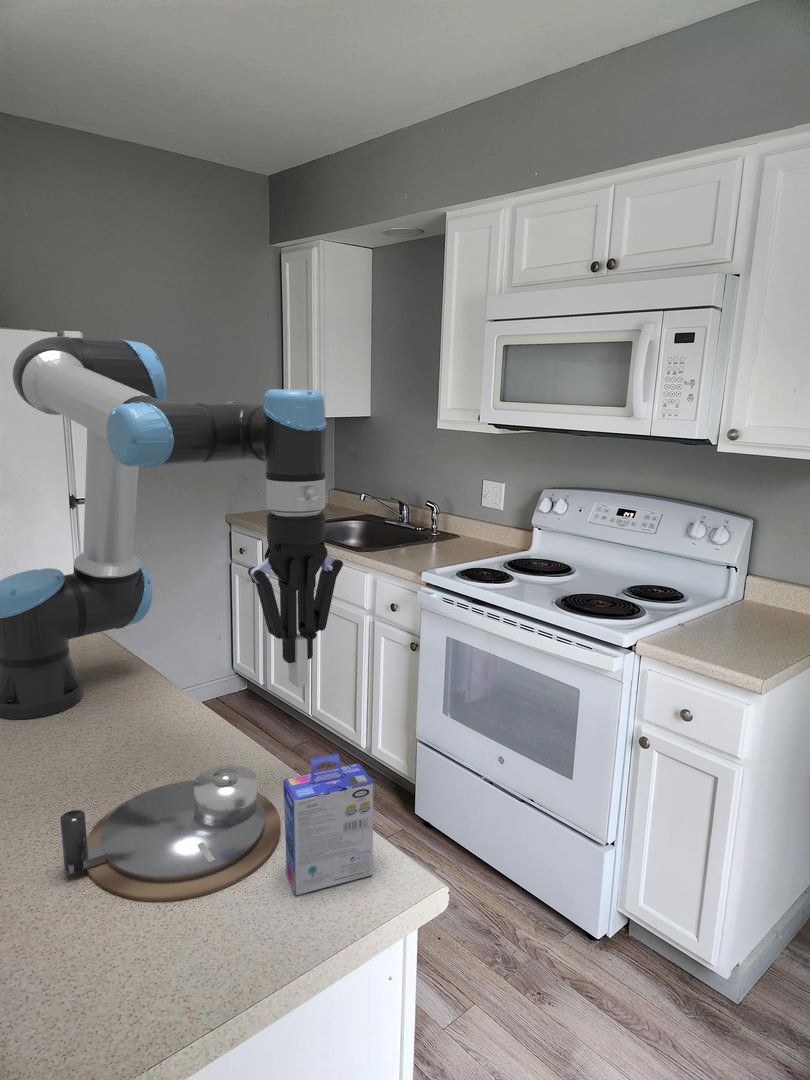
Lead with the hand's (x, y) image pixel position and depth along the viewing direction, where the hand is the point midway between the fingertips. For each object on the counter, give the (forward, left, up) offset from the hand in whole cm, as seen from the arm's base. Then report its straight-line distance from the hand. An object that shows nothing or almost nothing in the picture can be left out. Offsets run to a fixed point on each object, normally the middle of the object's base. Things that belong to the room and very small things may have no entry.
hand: (298, 682), depth 99 cm
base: (0, -16, -18) cm, 24 cm away
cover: (0, -11, -15) cm, 19 cm away
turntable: (0, -18, -17) cm, 25 cm away
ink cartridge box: (+16, -4, -18) cm, 24 cm away
